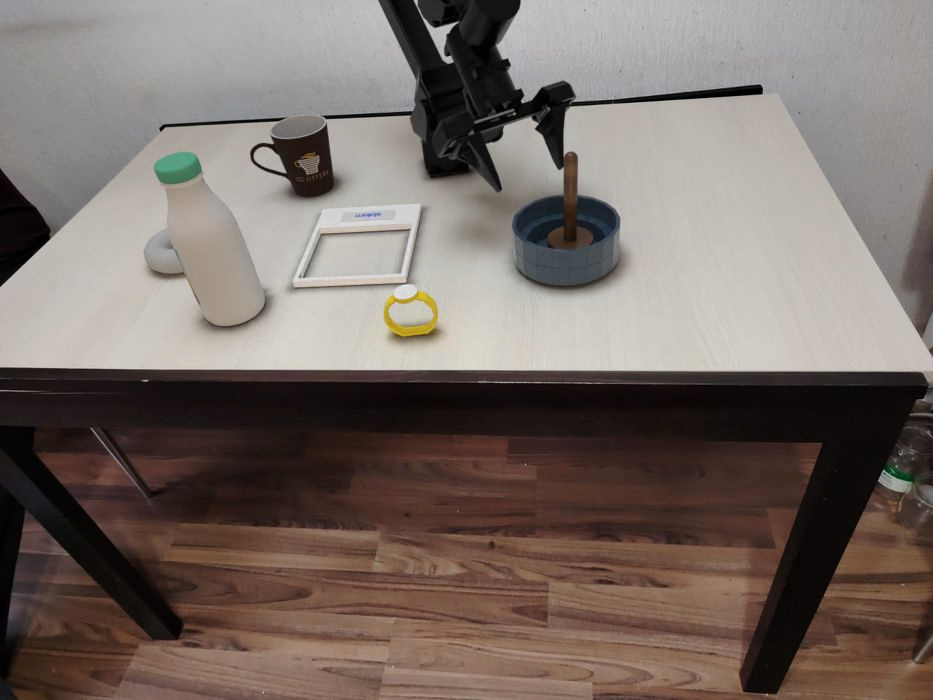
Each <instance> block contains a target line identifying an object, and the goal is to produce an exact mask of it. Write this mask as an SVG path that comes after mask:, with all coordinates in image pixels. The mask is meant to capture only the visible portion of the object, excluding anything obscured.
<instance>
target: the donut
mask: <svg viewBox="0 0 933 700" xmlns="http://www.w3.org/2000/svg"><path fill="white" fill-rule="evenodd" d="M143 257H144V261H145V263H146V265H148V266H149V268H151V269H152V270H154V271H155V272H159V273H162V274H166V275H167V274H169V275H170V274H171V275H173V274H174V275H175V274H181V273H184V271H183V269H182V267H181V265H180V262H179V260H178V258H177V256H176V253H175V251H174V248H173V246H172V243H171V241H170V237H169V234H168V228H167V227H166V228H164V229H162V230H160V231H158V232H157V233H155V234H154V235H152V236H151V237H150V239H148V240H147V242H146V244H145V246H144V249H143Z"/></svg>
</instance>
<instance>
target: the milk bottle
mask: <svg viewBox="0 0 933 700" xmlns="http://www.w3.org/2000/svg"><path fill="white" fill-rule="evenodd" d="M153 170H154V174H155V176H156V178H157V180H158V181H159V185H160V186H161V187H162V188H164V190H165V194H166V199H167V214H166V225H167V226H166V228H168V234H169V237H170V241H171V243H172V246H173V248H174V251H175V253H176V256H177V258H178V260H179V262H180V265H181V267H182V269H183V271H184V272H183V274H184V275H185V278H186V280H187V282H188V284H189V287H190V289H191V291H192V294H193V295H194V297H195V300H196V302H197V304H198V306H199V310H201V312H202V314H203V317H204V318H205V320H206V321H208V322H209V323H211V325H212V324H213V325H214V326H220V327H231V326H237V325H239V324H243V323H246V322H248V321H250V320H252V319H253V318H255V317H256V316H257V315H258V314H260V313H261V311H262V310H263V308H264V307H265V303H266V295H265V291H264V289H263V286H262V282H261V281H260V278H259V275H258V273H257V270H256V267H255V264H254V262H253V259H252V256H251V254H250V251H249V249H248V245H247V243H246V241H245V238H244V235H243V233H242V231H241V228H240V226H239V223H238V221H237V219H236V217H235V216H234V213H233V212H232V211H231V209H230V208H229V206H228V205H227V204H226V203H225V202H224V201H223V200H222V199H221V198H220V197H219V196H218V195H217V194H216V193H215V192H214V191H213V190H212V188H211V187H210V186H209V185H208V183H207V182H206V180H205V178H204V175H205V172H204V170H203V169H202V165H201V162H200V159H199V157H198V156H197V154H195V153H193V152H190V151H179V152H173V153H170V154H167V155H165V156H163V157H161V158H160V159H158V160H157V161H156V162H155V163H154V165H153Z"/></svg>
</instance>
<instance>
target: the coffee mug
mask: <svg viewBox="0 0 933 700" xmlns="http://www.w3.org/2000/svg"><path fill="white" fill-rule="evenodd" d="M268 133H269V136H270V137H271V140H272V143H268V142H260V143H257V144H255V145H254V146H253V147H252V148H251V149H250V151H249V156H250V161H251V163H252V164H253V165H254V166H256V167H257V168H258V169H259V170H262V171H264V172H266V173H268V174H272V175H275V176H280V177H281V178H285V179H287V180H288V182H289V183H290V185H291V187H292V189H293V192H294V193H295V195H297V196H299V197H301V198H302V197H303V198H312V197H319V196H322V195H324V194H326V193H328V192H330V191H331V190H332V189H333V188H334V187H335V178H334V170H333V169H334V168H333V162H332V153H331V145H330V138H329V129H328V122H327V119H326V118H325V117H324V116H322V115H318V114H300V115H299V114H298V115H294V116H289V117H286V118H284V119H281V120H279V121H277V122H275V123H274V124H273V125H272V126H271V127H270V128H269V130H268ZM261 148H268V149H270V150H271V151H273V153H274V154H276V155H277V156H279V159H280V161H281V163H282V166H283V168H284V170H285V172H282V171H279V170H275V169H272V168H270V167H269V168H268V167H266V166H264V165H262V164H260V163H259V162H258V161H256V159H255V153H256V152H257V150H259V149H261Z"/></svg>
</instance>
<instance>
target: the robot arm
mask: <svg viewBox="0 0 933 700" xmlns="http://www.w3.org/2000/svg"><path fill="white" fill-rule="evenodd" d="M377 1H378V4H379V5H380V7H381V10H382V12H383V14H384V16H385V18H386V20H387V22H388V24H389V26H390V29H391V30H392V32H393V33H392V34H393V35H394V37H395V39H396V41H397V43H398V45H399V47H400V50H401V52H402V54H403V55H404V57H405V60H406V62H407V64H408V66H409V68H410V71H411V72H412V75H413V76H414V79H415V88H414V97H413V102H414V104H415V105H414V108H413V110H412V112H411V115H410V117H409V122H410V124H411V128H412V132H413V133H414V134H415V135H416V136H418V137H419V138H420V145H421V150H422V151H421V152H422V156H423V164H424V170H427V171H428V175H429V176H428V177H429V178H438V177H444V176H445V177H446V176H451V175H452V176H453V175H459V174H466V173H469V172H471V168H472V169H474V170H475V171H476V173H478V175H480V176H481V178H483V180H484V181H485V182H486V183H487V184H488V185H489V186H490V187H491V188H492V189H493V190H494V191H495V192H496V193H497V194H498V193H501V192H502V191H503V186H502V182H501V179H500V176H499V173H498V171H497V168H496V166H495V164H494V161H493V159H492V156H491V154H490V151H489V149H488V146H487V145H488V144H490V143H492V144H493V143H497V142H499V141H500V140H501V139H502V138H503V136H504V128H505V126H508V125H511V124H514V123H517V122H521V121H523V120H525V119H529V118H531V120H532V121H533V122H535V123H537V125H536V126H535V127H534V130H535V131H536V132H538V133H539V134H540V135H541V136H542V138H543V140H544V143H545V145H546V147H547V148H546V149H547V150H548V152H549V155H550V157H551V160H552V162H553V163H554V165H555V167H556V169H557V171H561V170H563V169H564V156H565V135H564V134H565V133H564V132H565V122H566V113H567V112H568V111H569V109H571V106H572V105H571V104H572V103H573V102H574V101H576V99H577V95H576V92H575V90H574V88H573V86H572V84H571V83H570V82H568V81H566V80H559V81H557V82H553V83H551V84H548V85H544V86H541V87H540V88H539V90H538V91H537V93H536V94H535V95H534V97H532V99H531V100H528V101H524V102H522V100H523V99H524V97H526V96H525V93H524V90H523V89H522V88H516V87H515V84H514V81H513V79H512V77H511V74H510V72H509V70H510V68H511V67H512V64H511V62H510V59H509V58H508V57H507V58H504V59H503V57H502V54H501V52H500V50H499V48H498V46H497V45H499V44H500V43H501V42H502V41H503V40H504V37H505V35H506V34H507V32H508V31H509V28H510V27H511V25H512V23H513V21H514V20H515V18H516V16H517V14H518V12H519V10H520V9H521V4H522V0H417V3H416V2H415V0H377ZM425 21H426V22H427V24H428V25H430V27H432V29H433V28H434V29H437V28H441V27H446V26H448V25H449V26H450V25H452V24H453V26H452V27H451V29H450V30H449V32H448V33H446V34H445V37H446V38H445V39H446V40H445V44H444V46H443V54H444V57H446V58H447V57H451V59H452V62H449V63H448V62H446V61H445V60H444V59H443V57H442V55H441V53H440V51H439V49H438V47H437V46H436V45H437V44H436V43H435V41H434V39H433V36H432V34H431V33H430V31H429V28H428V26H427V25H426V22H425Z"/></svg>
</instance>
